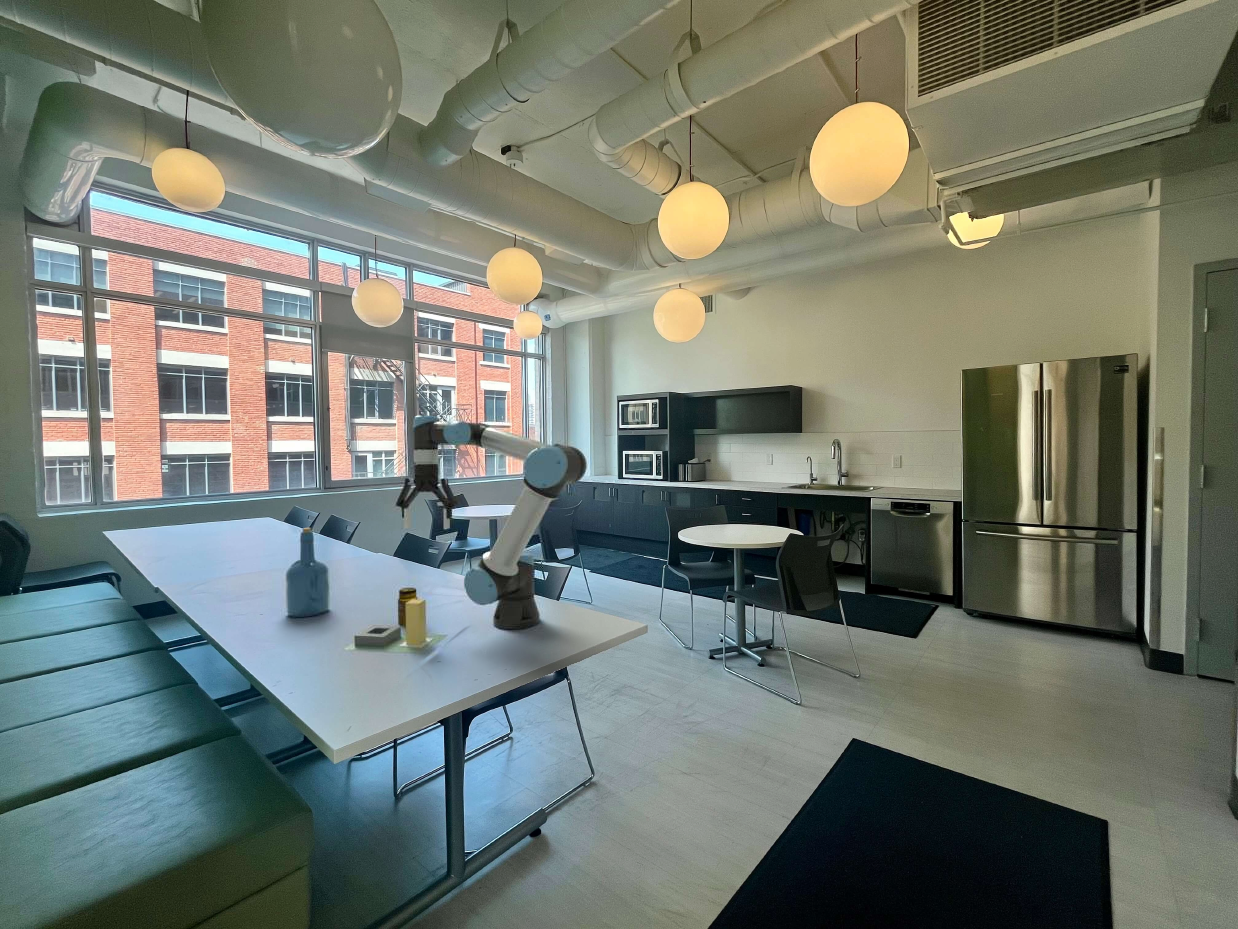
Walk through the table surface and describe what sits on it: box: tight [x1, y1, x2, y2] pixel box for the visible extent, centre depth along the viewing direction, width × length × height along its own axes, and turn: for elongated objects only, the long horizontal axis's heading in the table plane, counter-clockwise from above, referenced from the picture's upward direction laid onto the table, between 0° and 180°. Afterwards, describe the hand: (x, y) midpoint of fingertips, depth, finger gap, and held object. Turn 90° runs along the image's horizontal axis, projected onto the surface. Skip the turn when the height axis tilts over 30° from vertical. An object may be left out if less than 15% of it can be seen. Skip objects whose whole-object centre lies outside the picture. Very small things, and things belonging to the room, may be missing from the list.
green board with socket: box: [343, 624, 448, 655], centre depth 156 cm, size 24×15×4 cm, turn 82°
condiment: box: [397, 587, 418, 626], centre depth 173 cm, size 7×8×12 cm
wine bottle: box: [285, 527, 331, 618], centre depth 187 cm, size 14×13×30 cm
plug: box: [405, 599, 427, 645], centre depth 155 cm, size 4×4×12 cm
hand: (427, 528), depth 173 cm, fingers open, 13 cm apart
